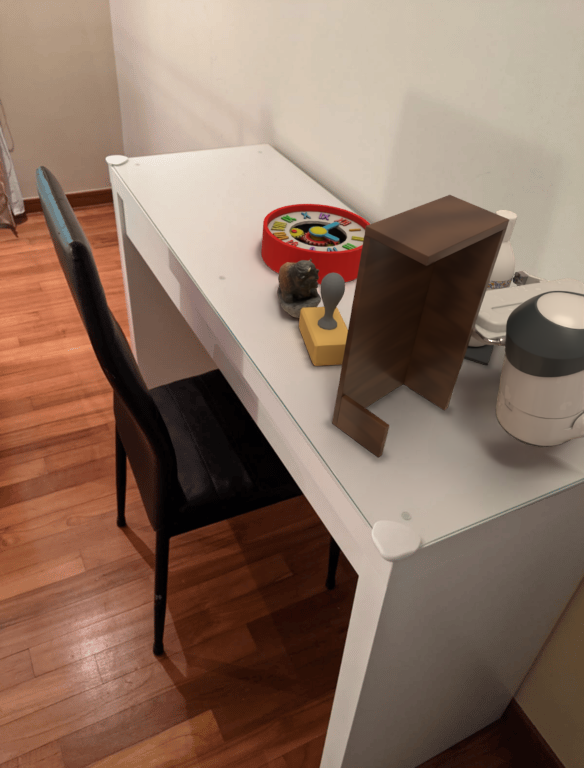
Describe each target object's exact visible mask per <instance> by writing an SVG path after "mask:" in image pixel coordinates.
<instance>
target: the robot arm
mask: <svg viewBox="0 0 584 768" xmlns="http://www.w3.org/2000/svg"><path fill="white" fill-rule="evenodd" d="M512 283H513V284H515V286H510V287H508V288H502V289H495V290H489V291H486V293H485V296H484V299H483V302H482V305H481V308H480V311H479V314H478V317H477V320H476V323H475V326H474V329H473V332H472V335H471V336H472V337H473V338H475V339H476V340H478V341H480V342H481V343H484V344H487V345H494V346H499V347H504V357H503V362H502V368H501V372H500V378H499V386H498V392H497V398H496V405H495V417H496V420H497V423H498V424H499V426H500V427H501V428H502V429H503V431H504V432H506V433H507V434H508V435H509V436H510V437H512V438H513V439H514V440H516V441H518V442H519V443H522V444H525V445H526V446H529V447H530V446H531V447H536V448H554V447H557V446H561V445H563V444H566V443H568V442H570V441H571V440H574V439H582V438H584V282H583V281H581V280H579V279H575V278H572V277H571V278H570V277H566V278H559V279H553V280H548V279H546V278H542V277H539V276H536V275H533V274H531V273H529V272H528V271H526V270H519V271H514V275H513V278H512Z"/></svg>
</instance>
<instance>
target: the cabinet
mask: <svg viewBox="0 0 584 768" xmlns="http://www.w3.org/2000/svg"><path fill="white" fill-rule="evenodd" d="M495 213H496V212H493V211H490V210H487V209H485V208H483V207H481V206H479V205H475V204H474V203H471V202H469V201H466V200H463V199H462V198H459V197H456V196H455V195H451V194H448V195H445V196H442V197H440V198H437V199H434V200H431V201H429V202H426V203H424V204H421V205H418V206H416V207H413V208H410V209H407V210H405V211H402V212H400V213H397V214H393V215H391V216H388V217H386V218H384V219H380V220H378V221H375V222H373V223H370V225H367V226H366V229H365V235H364V240H363V246H362V252H361V257H360V263H359V269H358V275H357V279H356V282H355V287H354V292H353V299H352V305H351V310H350V316H349V320H348V321H349V322H348V326H347V329H348V333H347V339H346V345H345V350H344V356H343V362H342V364H341V369H340V375H339V380H338V386H337V390H336V391H337V392H336V399H335V403H334V410H333V415H332V422H331V424H332V425H333V426H335V427H336V428H337V429H339V430H341V431H342V432H344V433H345V434H346V435H347V436H348V437H350V438H351V439H352V440H353V441H355V442H357V443H358V444H359V445H361V446H362V447H363V448H364V449H366V450H367V451H369V452H370V453H371V454H373V456H375V457H376V458H380V457H382V456H383V453H384V449H385V445H386V441H387V438H388V433H389V430H390V424H389V423H387V422H386V421H385V420H383V419H382V418H381V417H379V416H378V415H376V414H374V412H372V411H371V410H370V409H368V407H369V406H371V405H373V404H374V403H375V402H377V401H379V400H380V399H382V398H384V397H385V396H387V395H388V394H390V393H391V392H393V391H394V390H396V389H398V388H400V387H401V386H403V385H404V386H406V387H408V388H409V389H410V390H412V391H414V392H415V393H416V394H418V395H420V396H422V397H423V398H424V399H425V400H428V402H430V403H432V404H434V405H435V406H437V407H438V408H440V409H441V410H443V411H445V410H447V409H448V408H449V405H450V402H451V399H452V396H453V393H454V390H455V387H456V384H457V380H458V377H459V374H460V371H461V370H462V369H461V368H462V365H463V363H464V359H465V358H464V357H465V354H466V351H467V348H468V345H469V342H470V338H471V335H472V332H473V329H474V326H475V323H476V320H477V317H478V314H479V311H480V308H481V305H482V302H483V299H484V296H485V293H486V290H487V287H488V284H489V281H490V278H491V275H492V272H493V269H494V266H495V263H496V260H497V257H498V254H499V251H500V248H501V244H502V241H503V238H504V235H505V232H506V229H507V226H508V223H509V219H507V218H505V217H502V216H500V215H497V214H495Z"/></svg>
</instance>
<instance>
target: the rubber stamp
mask: <svg viewBox="0 0 584 768" xmlns="http://www.w3.org/2000/svg"><path fill="white" fill-rule="evenodd" d="M319 291H320V297H321V301H322V304H323V306H317V307H307V308H302V309H301V311H300V317H299V319H298V320H299V321H298V329H299V332H300V334H301V336H302V340H303V341H304V344H305V347H306V350H307V352H308V355H309V358H310V360H311V363H312V365H314V366H315V367H321V366H336V365H342V362H343V356H344V350H345V345H346V339H347V333H348V326H347V324H346V322H345V321H344V318H343V316H342V314H341V312H340V310H339V308H338V305H339V304H340V302H341V301H342V299H343V297H344V294H345V292H346V282H345V281H344V279H343V277H342V276H341V275H339V274H338V273H329V274H327V275H326V276H325V277H324V278H323V279H322V282H321V284H320V290H319Z"/></svg>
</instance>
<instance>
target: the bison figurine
mask: <svg viewBox="0 0 584 768" xmlns="http://www.w3.org/2000/svg"><path fill="white" fill-rule="evenodd" d="M311 261H312V259H310V260H309V261H307V260H301V261H299V262H297V263H290V262H287V263H285V264H283V265H282V266H281V268H280V271H279V274H278V277H277V280H278V288H277V297H278V299H279V303H280V306H281V308H282V309H283V311H284V312H286V313H287V314H288V315H290V316H291V317H292V318H300V311H301V309H302V308H307V307H319V304H320V303H321V301H322V298H321V294H319V292H318V287H319V284H318V282H317V280H318V279H319V276H318V273H319V270H318V269H316V268H315V265H314V264H313V263H312V262H311Z"/></svg>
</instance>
